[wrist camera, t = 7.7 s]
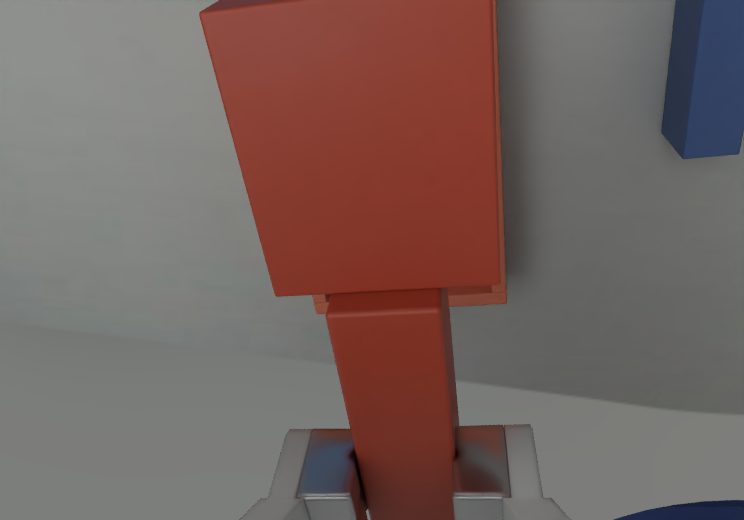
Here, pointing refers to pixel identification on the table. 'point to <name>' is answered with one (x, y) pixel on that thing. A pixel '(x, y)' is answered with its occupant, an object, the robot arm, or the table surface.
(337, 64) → the red stepped bar
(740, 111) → the blue stepped bar
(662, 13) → the table surface
